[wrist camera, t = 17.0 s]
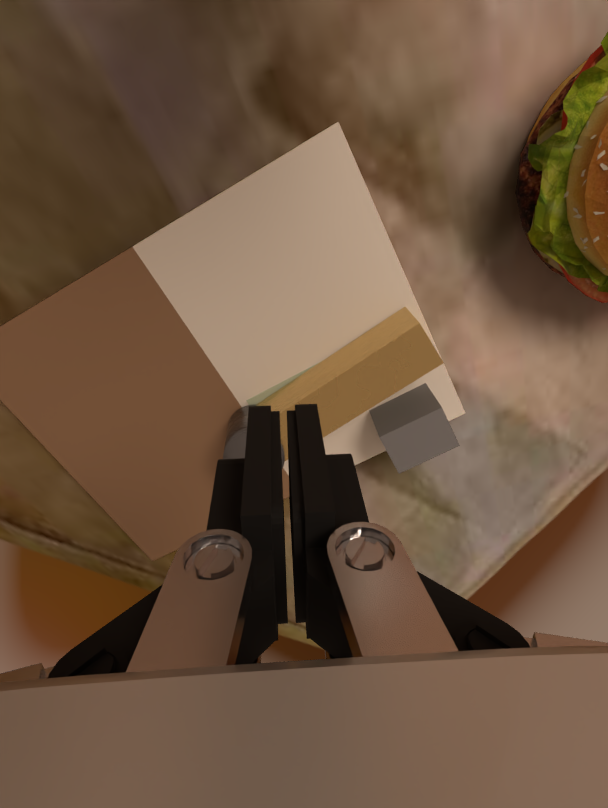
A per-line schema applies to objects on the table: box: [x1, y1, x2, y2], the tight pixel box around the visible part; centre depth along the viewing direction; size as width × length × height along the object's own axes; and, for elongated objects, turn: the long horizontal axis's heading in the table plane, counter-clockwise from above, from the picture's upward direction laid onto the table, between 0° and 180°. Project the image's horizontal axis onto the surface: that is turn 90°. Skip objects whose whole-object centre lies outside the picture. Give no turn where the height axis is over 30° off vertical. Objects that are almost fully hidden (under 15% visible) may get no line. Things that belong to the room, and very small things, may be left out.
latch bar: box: [223, 307, 444, 469], centre depth 29 cm, size 14×4×4 cm, turn 125°
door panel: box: [0, 122, 465, 561], centre depth 30 cm, size 25×19×5 cm
